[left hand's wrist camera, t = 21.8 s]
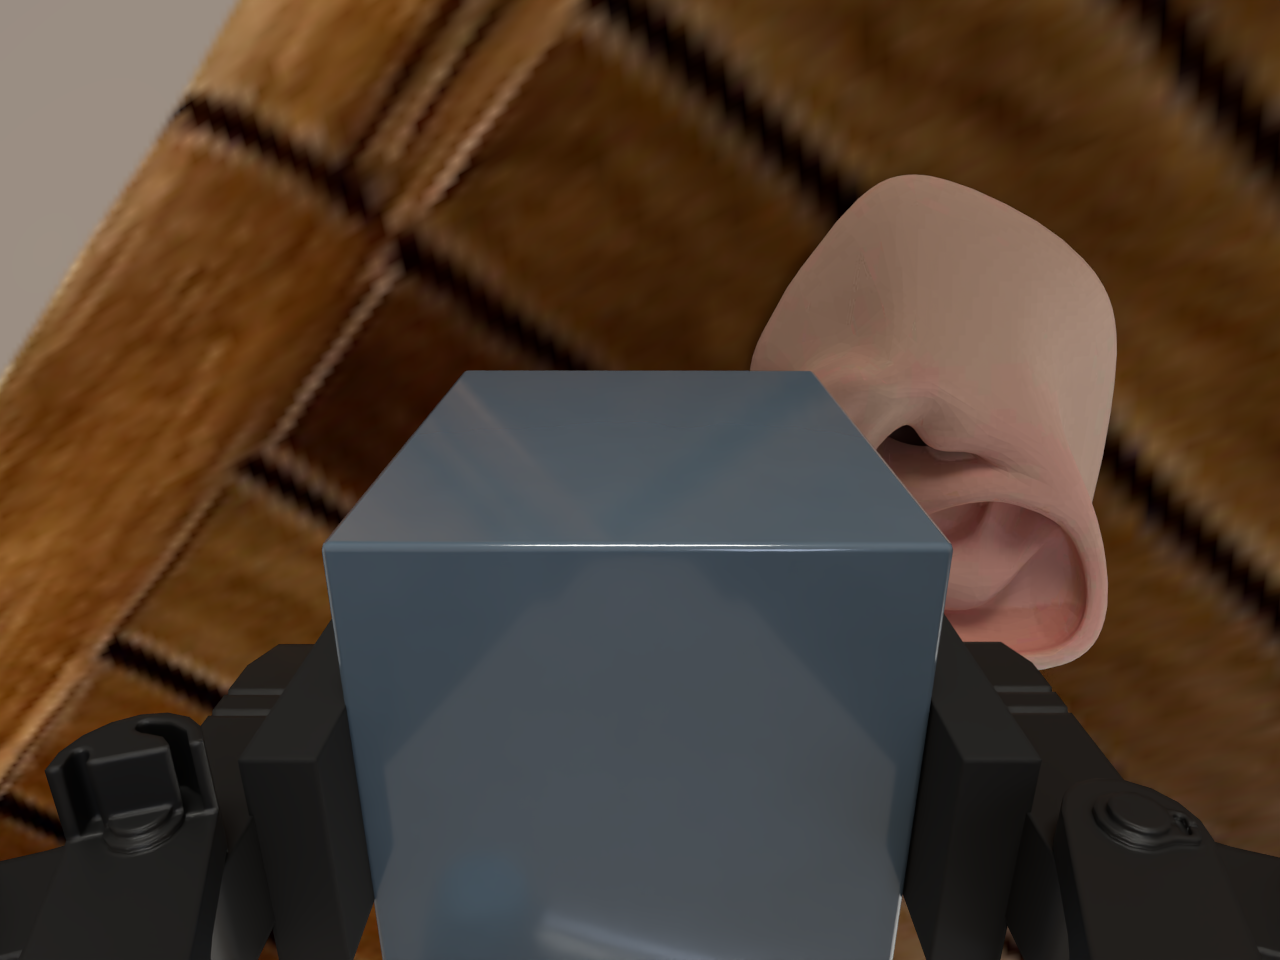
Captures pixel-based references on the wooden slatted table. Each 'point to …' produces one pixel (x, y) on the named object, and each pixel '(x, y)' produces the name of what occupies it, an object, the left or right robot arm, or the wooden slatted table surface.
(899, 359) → the anatomical model
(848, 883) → the block
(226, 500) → the wooden slatted table surface
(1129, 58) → the wooden slatted table surface
